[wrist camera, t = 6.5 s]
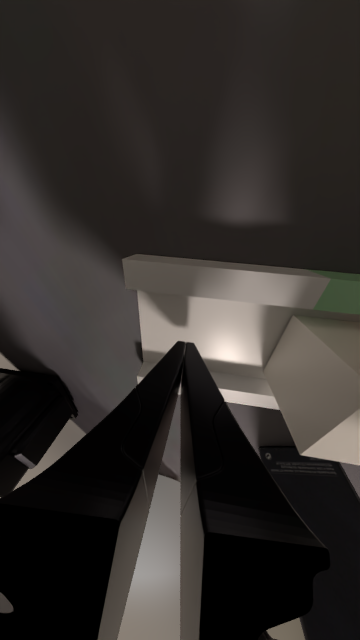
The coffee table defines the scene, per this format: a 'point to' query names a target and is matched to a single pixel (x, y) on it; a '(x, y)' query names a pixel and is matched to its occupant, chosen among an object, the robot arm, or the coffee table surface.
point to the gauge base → (231, 314)
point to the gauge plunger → (319, 386)
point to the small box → (325, 537)
